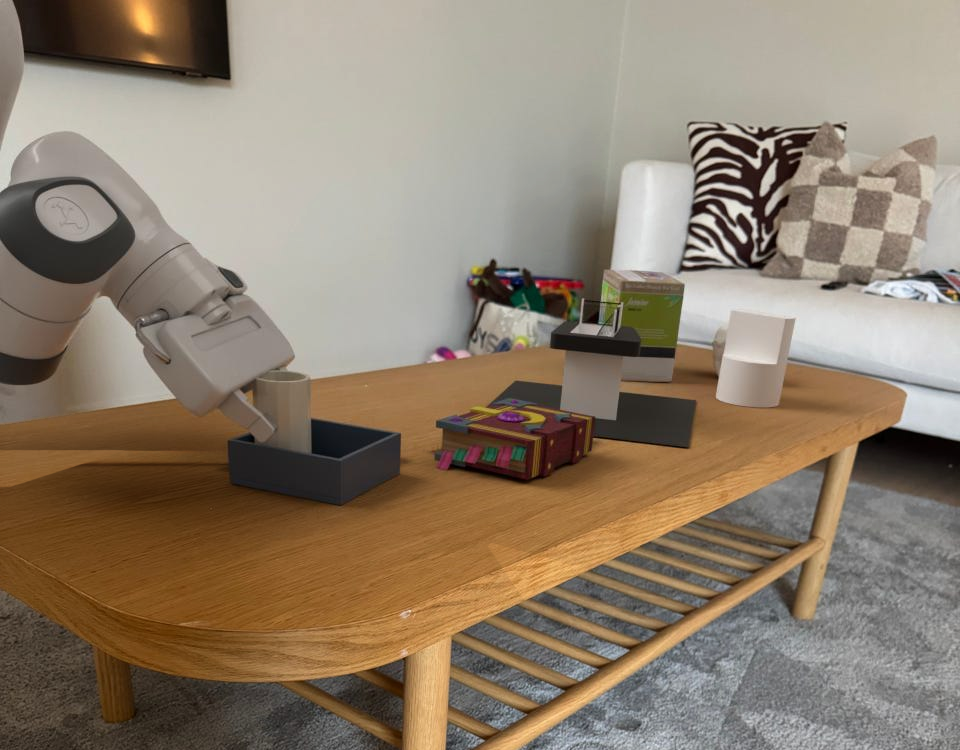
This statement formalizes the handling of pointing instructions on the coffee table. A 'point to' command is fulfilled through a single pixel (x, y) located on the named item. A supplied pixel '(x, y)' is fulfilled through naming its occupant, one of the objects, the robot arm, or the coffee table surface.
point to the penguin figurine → (719, 346)
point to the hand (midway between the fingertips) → (288, 424)
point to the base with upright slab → (754, 358)
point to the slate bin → (319, 462)
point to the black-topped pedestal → (606, 384)
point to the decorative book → (515, 438)
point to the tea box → (646, 319)
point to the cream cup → (285, 408)
